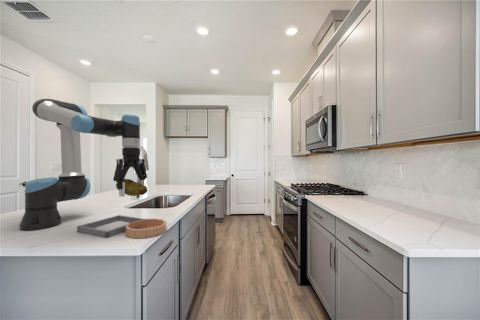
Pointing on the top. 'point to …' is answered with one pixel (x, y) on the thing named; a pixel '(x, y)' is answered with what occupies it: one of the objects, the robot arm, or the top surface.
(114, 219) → the tray
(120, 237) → the top surface
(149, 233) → the bowl
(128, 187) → the pear
